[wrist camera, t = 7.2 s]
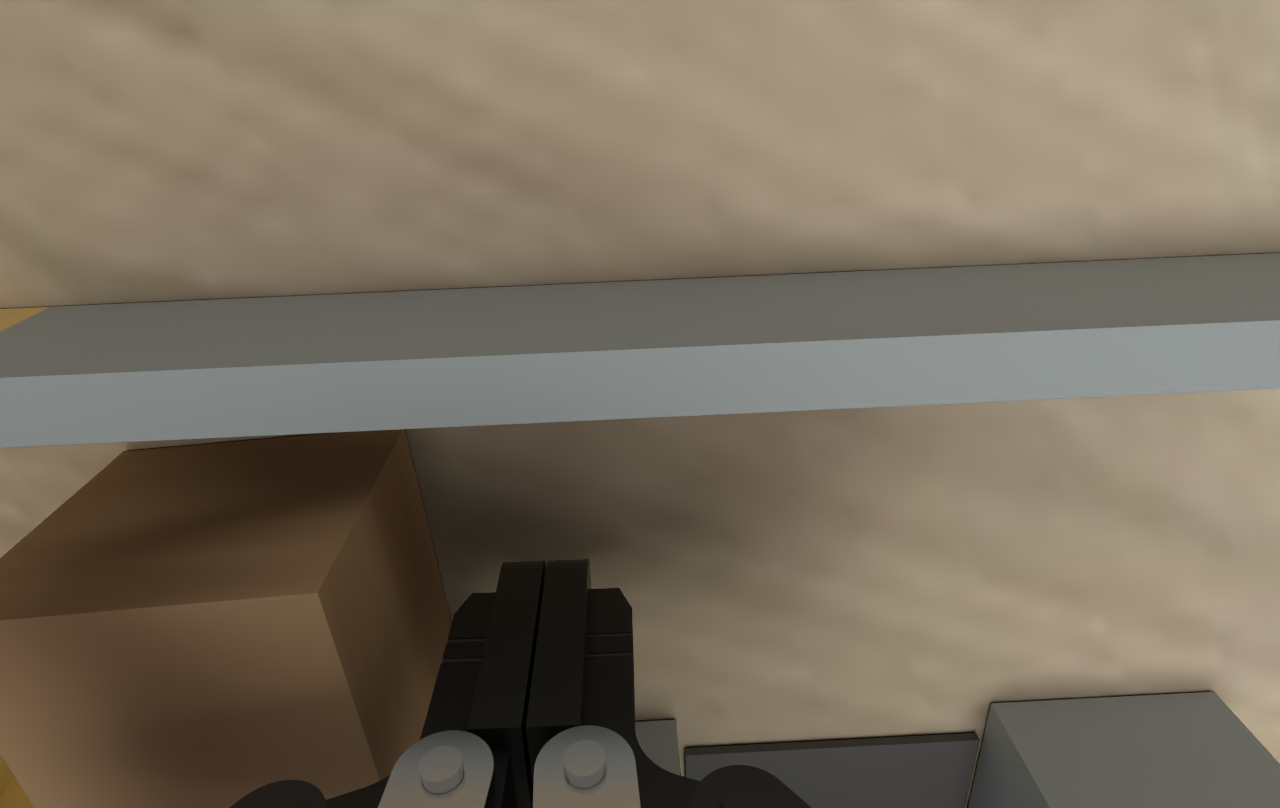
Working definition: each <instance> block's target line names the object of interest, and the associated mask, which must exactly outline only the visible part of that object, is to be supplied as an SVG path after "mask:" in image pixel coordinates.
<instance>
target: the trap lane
mask: <svg viewBox="0 0 1280 808" xmlns="http://www.w3.org/2000/svg"><path fill="white" fill-rule="evenodd" d="M1259 389H1280V253H1265V254H1242V255H1219V256H1196V257H1173V258H1150V259H1128V260H1105V261H1082V262H1059V263H1036V264H1014V265H991V266H968V267H945V268H922V269H899V270H877V271H854V272H831V273H808V274H785V275H762V276H740V277H717V278H694V279H671V280H648V281H626V282H603V283H580V284H557V285H534V286H511V287H489V288H466V289H443V290H420V291H397V292H375V293H352V294H329V295H306V296H283V297H260V298H238V299H215V300H192V301H169V302H146V303H124V304H101V305H78V306H55V307H49V308H47V309H45V310H43V311H41V312H39V313H37V314H35V315H33V316H31V317H29V318H27V319H25V320H23V321H21V322H19V323H17V324H15V325H13V326H11V327H9V328H7V329H5V330H3V331H1V332H0V448H9V447H30V446H52V445H73V444H95V443H117V442H138V441H160V440H181V439H203V438H224V437H246V436H267V435H289V434H311V433H332V432H354V431H375V430H397V429H418V428H440V427H461V426H483V425H504V424H526V423H548V422H569V421H591V420H612V419H634V418H655V417H677V416H698V415H720V414H741V413H763V412H785V411H806V410H828V409H849V408H871V407H892V406H914V405H935V404H957V403H978V402H1000V401H1022V400H1043V399H1065V398H1086V397H1108V396H1129V395H1151V394H1172V393H1194V392H1215V391H1237V390H1259ZM635 731H636V737H637V740H638V743H639V745H640V747H641V749H642V750H643V752H644V753H645V754H646V755H647V757H648V758H649V759H650V760H652V761H653V762H654V763H655V764H656V765H658V766H659V767H661V768H663V769H665V770H666V771H668V772H671V773H674V774H677V775H680V776H681V772H680V761H679V750H678V739H677V729H676V720H662V721H643V722H635ZM979 741H980V740H979V738H978V736H977V734H976V733H963V734H944V735H925V736H906V737H887V738H868V739H849V740H830V741H811V742H792V743H773V744H754V745H735V746H716V747H697V748H685V775H686V777H687V778H691V779H694V780H698V781H701V780H702V779H703V778H704V777H705V776H707V775H708V774H710V773H711V772H713V771H715V770H717V769H719V768H722V767H726V766H730V765H748V766H753V767H757V768H760V769H762V770H765V771H767V772H769V773H771V774H772V775H774V776H775V777H777V778H778V779H779V780H781V781H782V782H783V783H784V784H785V785H786V786H787V787H789V788H790V789H791V790H792V791H793V792H794V793H795V794H797V795H798V796H799V797H800V798H801V799H802V800H803V801H805V802H806V803H807V804H808V805H809V806H810V807H811V808H965V805H966V800H967V795H968V791H969V786H970V782H971V777H972V773H973V768H974V763H975V759H976V754H977V750H978V745H979ZM968 808H1280V764H1279V763H1278V761H1277V760H1276V759H1275V758H1274V757H1273V756H1272V755H1271V754H1270V753H1269V752H1268V750H1267V749H1266V748H1265V747H1264V746H1263V745H1262V744H1261V743H1260V742H1259V741H1258V739H1257V738H1256V737H1255V736H1254V735H1253V734H1252V733H1251V732H1250V731H1249V730H1248V729H1247V727H1246V726H1245V725H1244V724H1243V723H1242V722H1241V721H1240V720H1239V719H1238V718H1237V716H1236V715H1235V714H1234V713H1233V712H1232V711H1231V710H1230V709H1229V708H1228V707H1227V705H1226V704H1225V703H1224V702H1223V701H1222V700H1221V699H1220V698H1219V697H1218V696H1217V694H1216V693H1215V692H1199V693H1180V694H1161V695H1141V696H1122V697H1103V698H1084V699H1065V700H1045V701H1026V702H1007V703H991V706H990V710H989V715H988V719H987V724H986V728H985V733H984V737H983V742H982V746H981V751H980V755H979V760H978V764H977V769H976V773H975V778H974V782H973V787H972V791H971V796H970V801H969V805H968Z"/></svg>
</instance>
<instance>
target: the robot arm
mask: <svg viewBox="0 0 1280 808" xmlns="http://www.w3.org/2000/svg"><path fill="white" fill-rule="evenodd" d="M229 808H811V807H810V806H809V805H808V804H807V803H806V802H805V801H803V800H802V799H801V798H800V797H799V796H798V795H797V794H795V793H794V792H793V791H792V790H791V789H790V788H789V787H787V786H786V785H785V784H784V783H783V782H782V781H781V780H779V779H778V778H777V777H775V776H774V775H772V774H771V773H769V772H767V771H765V770H762V769H760V768H757V767H753V766H748V765H730V766H726V767H722V768H719V769H717V770H715V771H713V772H711V773H710V774H708V775H707V776H705V777H704V778H703V779H702V780H701V781H698V780H694V779H691V778H687V777H683V776H680V775H677V774H674V773H671V772H668V771H666V770H665V769H663V768H661V767H659V766H658V765H656V764H655V763H654V762H653V761H652V760H650V759H649V758H648V757H647V755H646V754H645V753H644V752H643V750H642V749H641V747H640V745H639V743H638V740H637V737H636V731H635V693H634V659H633V628H632V608H631V606H630V604H629V603H628V601H627V600H626V598H625V597H624V595H623V593H622V592H621V590H620V589H619V588H608V589H591V574H590V562H589V559H585V560H555V561H548V562H547V566H546V562H545V561H530V562H504V563H503V564H502V567H501V571H500V576H499V581H498V585H497V590H496V592H495V593H472V594H471V595H470V596H469V598H468V599H467V600H466V601H465V602H464V603H463V605H462V606H461V607H460V608H459V609H458V611H457V612H456V613H455V614H454V617H453V621H452V624H451V628H450V632H449V635H448V643H446V646H445V650H444V653H443V657H442V663H441V664H440V668H439V672H438V675H437V679H436V683H435V686H434V690H433V694H432V697H431V701H430V705H429V708H428V712H427V716H426V719H425V723H424V726H423V730H422V734H421V737H420V740H419V741H417V742H416V743H414V744H413V745H412V746H410V747H409V748H408V749H407V750H406V751H405V752H404V753H403V754H402V755H401V756H400V758H399V759H398V761H397V762H396V764H395V766H394V768H393V770H392V772H391V774H390V775H389V776H387V777H386V778H384V779H382V780H380V781H378V782H376V783H374V784H372V785H369V786H367V787H364V788H361V789H358V790H355V791H352V792H348V793H345V794H342V795H339V796H336V797H333V798H330V799H327V800H326V799H325V797H324V795H323V793H322V792H321V791H320V790H319V789H318V788H317V787H316V786H314V785H313V784H311V783H308V782H306V781H301V780H282V781H277V782H273V783H269V784H267V785H264V786H262V787H259V788H258V789H256V790H254V791H252V792H250V793H249V794H247V795H246V796H244V797H243V798H241V799H240V800H239V801H237V802H236V803H235V804H233V805H232V806H231V807H229Z"/></svg>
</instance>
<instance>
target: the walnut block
mask: <svg viewBox="0 0 1280 808" xmlns="http://www.w3.org/2000/svg"><path fill="white" fill-rule="evenodd" d="M451 624H452V621H451V617H450V613H449V609H448V605H447V601H446V597H445V593H444V588H443V584H442V580H441V576H440V572H439V568H438V564H437V560H436V555H435V551H434V547H433V543H432V539H431V535H430V531H429V527H428V522H427V518H426V514H425V510H424V506H423V502H422V498H421V494H420V489H419V485H418V481H417V477H416V473H415V469H414V465H413V461H412V456H411V452H410V448H409V444H408V440H407V436H406V432H405V429H397V430H375V431H354V432H337V433H326V434H314V435H303V436H291V437H280V438H269V439H257V440H246V441H235V442H223V443H212V444H201V445H189V446H178V447H166V448H155V449H144V450H132V451H124V452H123V453H121V454H120V455H119V456H118V457H117V458H116V459H115V460H113V461H112V462H111V463H110V464H109V465H108V466H106V467H105V468H104V469H103V470H102V471H101V472H100V473H98V474H97V475H96V476H95V477H94V478H93V479H91V480H90V481H89V482H88V483H87V484H86V485H85V486H83V487H82V488H81V489H80V490H79V491H78V492H76V493H75V494H74V495H73V496H72V497H71V498H70V499H68V500H67V501H66V502H65V503H64V504H63V505H61V506H60V507H59V508H58V509H57V510H56V511H54V512H53V513H52V514H51V515H50V516H49V517H48V518H46V519H45V520H44V521H43V522H42V523H41V524H39V525H38V526H37V527H36V528H35V529H34V530H33V531H31V532H30V533H29V534H28V535H27V536H26V537H24V538H23V539H22V540H21V541H20V542H19V543H18V544H16V545H15V546H14V547H13V548H12V549H11V550H9V551H8V552H7V553H6V554H5V555H4V556H3V557H1V558H0V754H1V755H2V757H3V758H4V760H5V761H6V763H7V765H8V766H9V768H10V769H11V771H12V773H13V774H14V776H15V777H16V779H17V781H18V782H19V784H20V785H21V787H22V788H23V790H24V792H25V793H26V795H27V796H28V798H29V800H30V801H31V803H32V804H33V806H34V807H35V808H229V807H231V806H232V805H233V804H235V803H236V802H237V801H239V800H240V799H241V798H243V797H244V796H246V795H247V794H249V793H250V792H252V791H254V790H256V789H258V788H259V787H262V786H264V785H267V784H269V783H273V782H277V781H282V780H301V781H306V782H308V783H311V784H313V785H314V786H316V787H317V788H318V789H319V790H320V791H321V792H322V793H323V795H324V797H325V799H326V800H327V799H330V798H333V797H336V796H339V795H342V794H345V793H348V792H352V791H355V790H358V789H361V788H364V787H367V786H369V785H372V784H374V783H376V782H378V781H380V780H382V779H384V778H386V777H387V776H389V775H390V774H391V772H392V770H393V768H394V766H395V764H396V762H397V761H398V759H399V758H400V756H401V755H402V754H403V753H404V752H405V751H406V750H407V749H408V748H409V747H410V746H412V745H413V744H414V743H416V742H417V741H419V740H420V737H421V734H422V730H423V726H424V723H425V719H426V716H427V712H428V708H429V705H430V701H431V697H432V694H433V690H434V686H435V683H436V679H437V675H438V672H439V668H440V664H441V663H442V657H443V653H444V650H445V646H446V643H448V635H449V632H450V628H451Z"/></svg>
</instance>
